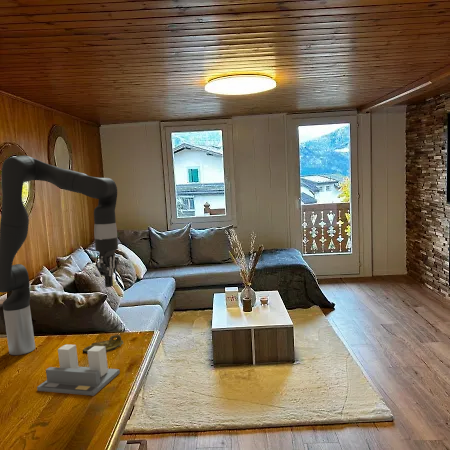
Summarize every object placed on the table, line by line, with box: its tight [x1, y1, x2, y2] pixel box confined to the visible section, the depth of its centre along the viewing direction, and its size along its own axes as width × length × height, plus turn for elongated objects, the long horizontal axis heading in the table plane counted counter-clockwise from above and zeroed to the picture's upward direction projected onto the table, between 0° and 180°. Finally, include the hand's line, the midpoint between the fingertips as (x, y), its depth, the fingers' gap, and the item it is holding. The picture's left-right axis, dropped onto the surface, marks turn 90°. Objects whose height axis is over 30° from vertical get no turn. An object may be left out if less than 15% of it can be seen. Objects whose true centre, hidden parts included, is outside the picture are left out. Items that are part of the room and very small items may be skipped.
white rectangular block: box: [57, 343, 80, 369], centre depth 147 cm, size 4×4×8 cm
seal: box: [82, 334, 124, 354], centre depth 170 cm, size 9×5×15 cm
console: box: [36, 366, 121, 396], centre depth 143 cm, size 15×20×5 cm
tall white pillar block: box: [86, 346, 109, 377], centre depth 144 cm, size 4×4×8 cm
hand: (109, 286), depth 155 cm, fingers closed
